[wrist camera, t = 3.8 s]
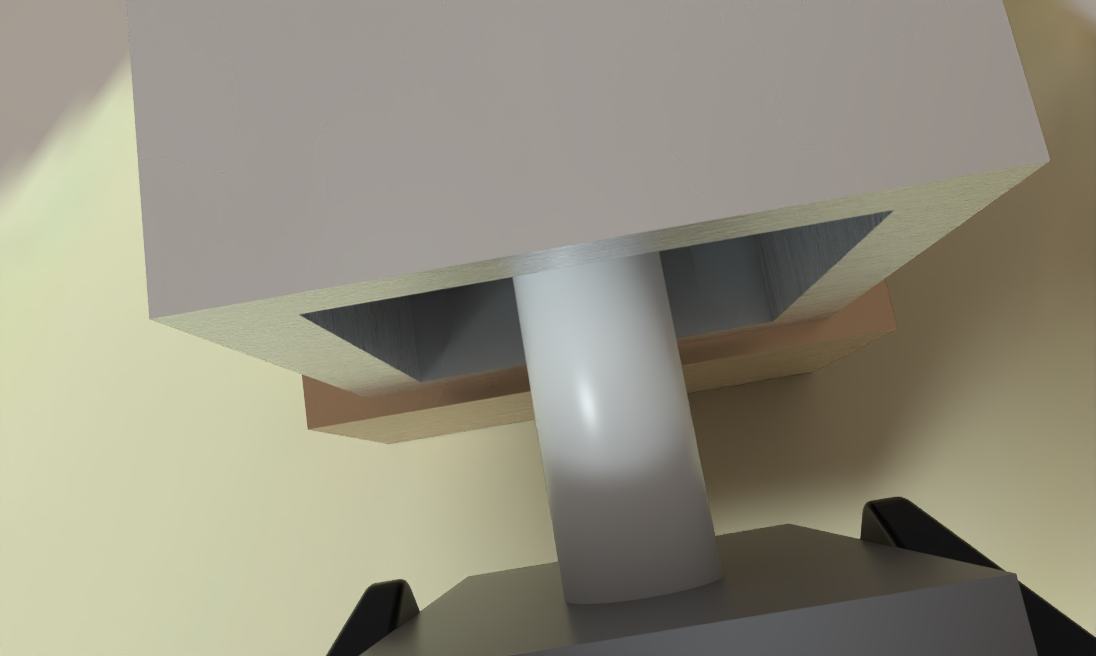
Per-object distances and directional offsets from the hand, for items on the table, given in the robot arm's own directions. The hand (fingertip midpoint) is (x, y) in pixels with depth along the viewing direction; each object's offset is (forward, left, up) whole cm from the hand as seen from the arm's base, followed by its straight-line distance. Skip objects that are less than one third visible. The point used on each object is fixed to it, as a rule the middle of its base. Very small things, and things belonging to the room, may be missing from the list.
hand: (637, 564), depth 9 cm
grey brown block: (+5, -1, -7) cm, 9 cm away
